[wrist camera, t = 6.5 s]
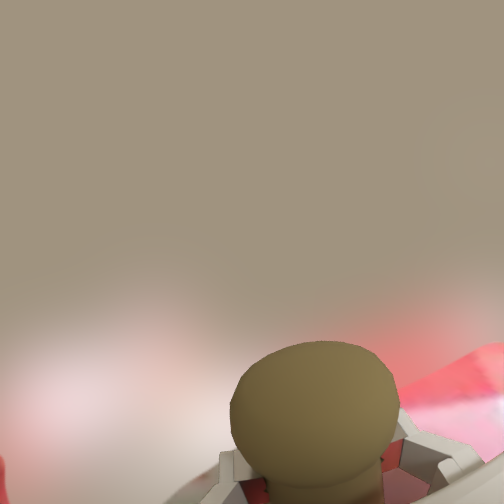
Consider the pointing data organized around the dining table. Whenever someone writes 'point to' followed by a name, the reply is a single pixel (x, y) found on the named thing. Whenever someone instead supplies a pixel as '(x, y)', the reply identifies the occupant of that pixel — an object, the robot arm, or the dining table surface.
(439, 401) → the dining table surface
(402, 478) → the dining table surface
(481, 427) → the dining table surface
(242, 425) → the cork
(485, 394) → the dining table surface
